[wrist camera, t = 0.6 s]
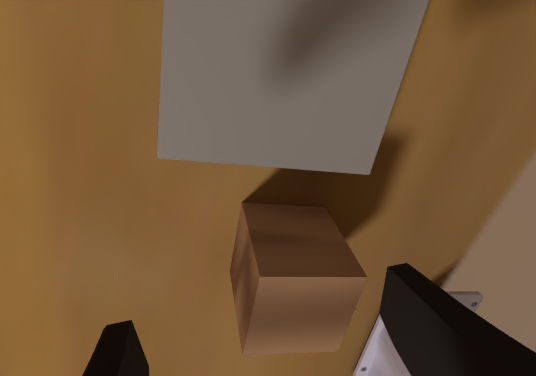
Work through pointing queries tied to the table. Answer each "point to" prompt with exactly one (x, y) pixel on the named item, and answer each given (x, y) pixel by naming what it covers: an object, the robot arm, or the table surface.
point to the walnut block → (292, 280)
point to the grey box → (282, 80)
